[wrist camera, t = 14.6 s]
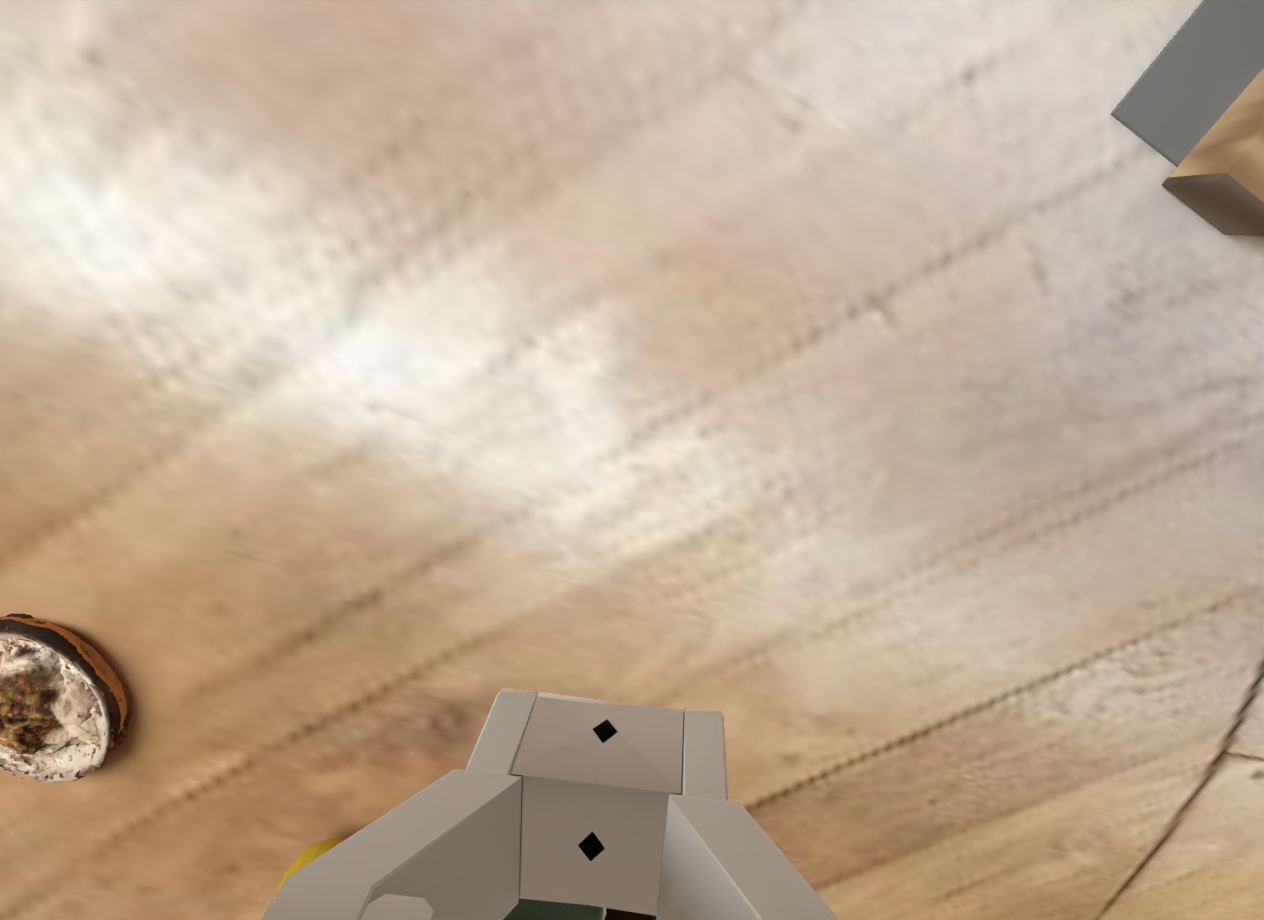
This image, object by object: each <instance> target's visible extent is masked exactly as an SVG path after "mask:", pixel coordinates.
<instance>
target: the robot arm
mask: <svg viewBox="0 0 1264 920" xmlns="http://www.w3.org/2000/svg"><path fill="white" fill-rule="evenodd" d="M519 898H520V899H531V900H541V901H552V902H562V903H572V904H583V905H591V906H597V907H603V908H610V909H616V910H622V911H629V912H635V913H641V914H648V915H654V916H656V920H839V919H838V917H837V916H836V915H835V914H834V913H833V912H832V910H831V909H830V908H829V907H828V906H827V904H826V903H825V902H824V901H823V900H822V899H821V897H820V896H819V895H818V894H817V893H816V892H815V890H814V889H813V888H812V887H811V886H810V885H809V883H808V882H807V881H806V880H805V879H804V877H803V876H802V875H801V874H800V873H799V872H798V870H797V869H796V868H795V867H794V866H793V865H792V863H791V862H790V861H789V860H788V859H787V858H786V856H785V855H784V854H783V853H782V852H781V850H780V849H779V848H778V847H777V846H776V845H775V843H774V842H773V841H772V840H771V839H770V838H769V836H768V835H767V834H766V833H765V832H764V831H763V829H762V828H761V827H760V826H759V825H758V823H757V822H756V821H755V820H754V819H753V818H752V816H751V815H750V814H749V813H748V812H747V811H746V809H745V808H744V807H743V806H742V805H741V804H740V803H739V802H732V801H728V788H727V770H726V752H725V734H724V716H723V715H722V713H721V711H709V710H696V709H684V710H680V709H671V708H662V707H652V706H643V705H633V704H624V703H614V702H611V701H604V700H596V699H589V698H581V697H574V696H566V695H559V694H551V693H544V692H540V693H538V692H535V691H526V690H518V689H509V688H503V689H502V690H501V691H500V692H499V693H498V694H497V696H496V698H495V701H494V703H493V705H492V708H491V710H490V712H489V715H488V717H487V720H486V722H485V724H484V727H483V729H482V731H481V734H480V736H479V738H478V741H477V743H476V746H475V748H474V750H473V753H472V755H471V757H470V760H469V762H468V764H467V767H466V769H465V770H460V769H453V770H452V771H450V772H449V773H447V774H446V775H444V776H442V777H441V778H439V779H438V780H436V781H435V782H433V783H432V784H430V785H429V786H427V787H426V788H424V789H422V790H421V791H419V792H418V793H416V794H415V795H413V796H412V797H410V798H409V799H407V800H406V801H404V802H402V803H401V804H399V805H398V806H396V807H395V808H393V809H392V810H390V811H389V812H387V813H386V814H384V815H382V816H381V817H379V818H378V819H376V820H375V821H373V822H372V823H370V824H369V825H367V826H365V827H364V828H362V829H361V830H359V831H358V832H356V833H355V834H353V835H352V836H350V837H349V838H347V839H345V840H344V841H342V842H341V843H339V844H338V845H336V846H335V847H333V848H332V849H330V850H329V851H327V852H325V853H324V854H322V855H321V856H319V857H318V858H316V859H315V860H313V861H312V862H310V863H309V864H307V865H305V866H304V867H302V868H301V869H299V870H298V871H296V872H295V873H293V874H292V875H290V876H289V877H287V879H286V881H285V882H284V884H283V885H282V887H281V889H280V890H279V892H278V893H277V895H276V897H275V898H274V900H273V901H272V903H271V904H270V906H269V908H268V909H267V911H266V912H265V914H264V916H263V917H262V919H261V920H503V919H504V918H505V917H506V916H507V915H508V914H509V913H510V912H511V910H512V909H513V908H514V907H515V906H516V905H517V904H518V903H519Z"/></svg>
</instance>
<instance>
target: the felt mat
mask: <svg viewBox="0 0 1264 920" xmlns="http://www.w3.org/2000/svg"><path fill="white" fill-rule="evenodd" d="M1263 68H1264V0H1204V1H1203V2H1202V3H1201V4H1200V6H1199V7H1198V8H1197V9H1196V11H1195V12H1194V13H1193V14H1192V15H1191V17H1190V18H1189V19H1188V20H1187V22H1186V23H1185V24H1184V25H1183V26H1182V28H1181V29H1180V30H1179V31H1178V32H1177V34H1176V35H1175V36H1174V37H1173V39H1172V40H1171V41H1170V42H1169V43H1168V45H1167V46H1166V47H1165V48H1164V50H1163V51H1162V52H1161V53H1160V54H1159V56H1158V57H1157V58H1156V59H1155V61H1154V62H1153V63H1152V64H1151V65H1150V67H1149V68H1148V69H1147V70H1146V72H1145V73H1144V74H1143V75H1142V76H1141V78H1140V79H1139V80H1138V81H1137V83H1136V84H1135V85H1134V86H1133V87H1132V89H1131V90H1130V91H1129V92H1128V93H1127V95H1126V96H1125V97H1124V98H1123V100H1122V101H1121V102H1120V103H1119V104H1118V106H1117V107H1116V108H1115V109H1114V111H1113V112H1112V113H1111V115H1112V116H1114V117H1115V118H1116V119H1118V120H1119V121H1120V122H1121V123H1123V124H1124V125H1125V126H1126V127H1128V128H1129V129H1130V130H1131V131H1133V132H1134V133H1135V134H1136V135H1138V136H1139V137H1140V138H1141V139H1143V140H1144V141H1145V142H1146V143H1148V144H1149V145H1150V146H1152V147H1153V148H1154V149H1155V150H1157V151H1158V152H1159V153H1160V154H1162V155H1163V156H1164V157H1165V158H1167V159H1168V160H1169V161H1170V162H1172V163H1173V164H1174V165H1175V166H1177V167H1178V165H1179V164H1180V163H1181V162H1182V161H1183V160H1184V159H1185V157H1186V156H1187V155H1188V154H1189V153H1190V152H1191V151H1192V149H1193V148H1194V147H1195V146H1196V145H1197V144H1198V143H1199V141H1200V140H1201V139H1202V138H1203V137H1204V136H1205V134H1206V133H1207V132H1208V131H1209V130H1210V129H1211V128H1212V126H1213V125H1214V124H1215V123H1216V122H1217V121H1218V120H1219V118H1220V117H1221V116H1222V115H1223V114H1224V113H1225V111H1226V110H1227V109H1228V108H1229V107H1230V106H1231V105H1232V103H1233V102H1234V101H1235V100H1236V99H1237V98H1238V97H1239V95H1240V94H1241V93H1242V92H1243V91H1244V90H1245V89H1246V87H1247V86H1248V85H1249V84H1250V83H1251V82H1252V80H1253V79H1254V78H1255V77H1256V76H1257V75H1258V74H1259V72H1260V71H1261V70H1262V69H1263Z"/></svg>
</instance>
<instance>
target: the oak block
mask: <svg viewBox="0 0 1264 920" xmlns="http://www.w3.org/2000/svg"><path fill="white" fill-rule="evenodd" d="M1162 186H1163V187H1165V188H1166V189H1167V190H1169V191H1170V192H1171V193H1172V194H1174V195H1175V196H1176V197H1177V198H1179V199H1180V200H1181V201H1182V202H1184V203H1185V204H1186V205H1188V206H1189V207H1190V208H1191V209H1193V210H1194V211H1195V212H1196V213H1198V214H1199V215H1200V216H1202V217H1203V218H1204V219H1205V220H1207V221H1208V222H1209V223H1210V224H1212V225H1213V226H1214V227H1216V228H1217V229H1218V230H1219V231H1221V232H1222V233H1223V234H1228V235H1259V236H1264V68H1263V69H1262V70H1261V71H1260V72H1259V74H1258V75H1257V76H1256V77H1255V78H1254V79H1253V80H1252V82H1251V83H1250V84H1249V85H1248V86H1247V87H1246V89H1245V90H1244V91H1243V92H1242V93H1241V94H1240V95H1239V97H1238V98H1237V99H1236V100H1235V101H1234V102H1233V103H1232V105H1231V106H1230V107H1229V108H1228V109H1227V110H1226V111H1225V113H1224V114H1223V115H1222V116H1221V117H1220V118H1219V120H1218V121H1217V122H1216V123H1215V124H1214V125H1213V126H1212V128H1211V129H1210V130H1209V131H1208V132H1207V133H1206V134H1205V136H1204V137H1203V138H1202V139H1201V140H1200V141H1199V143H1198V144H1197V145H1196V146H1195V147H1194V148H1193V149H1192V151H1191V152H1190V153H1189V154H1188V155H1187V156H1186V157H1185V159H1184V160H1183V161H1182V162H1181V163H1180V164H1179V165H1178V167H1177V168H1176V169H1175V170H1174V171H1173V172H1172V174H1171V175H1170V176H1169V177H1168V178H1167V179H1166V180H1165V182H1164V183H1163V184H1162Z"/></svg>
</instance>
